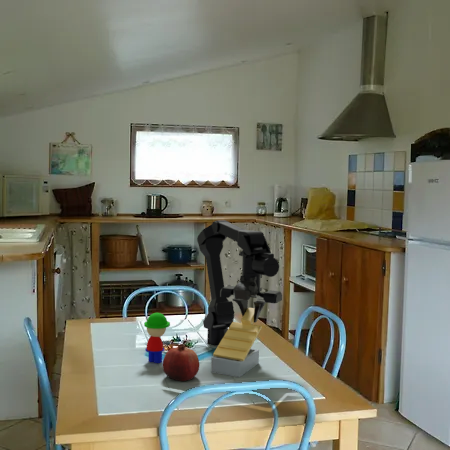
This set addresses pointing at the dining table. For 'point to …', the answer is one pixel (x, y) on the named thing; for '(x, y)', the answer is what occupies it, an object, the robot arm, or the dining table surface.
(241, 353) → the lid
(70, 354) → the dining table surface
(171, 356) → the fruit
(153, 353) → the toy
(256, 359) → the tub
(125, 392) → the dining table surface
